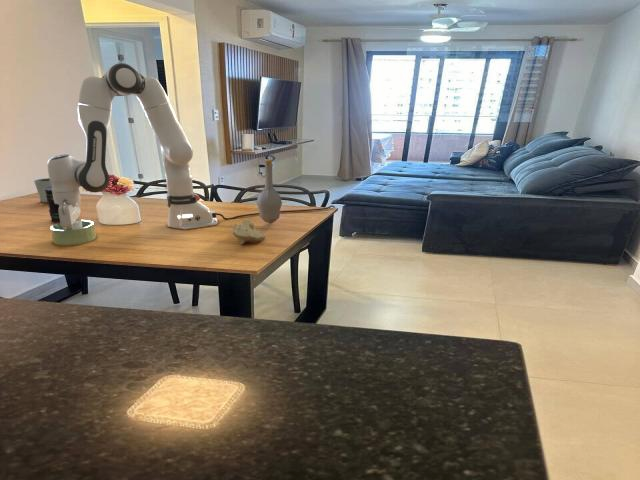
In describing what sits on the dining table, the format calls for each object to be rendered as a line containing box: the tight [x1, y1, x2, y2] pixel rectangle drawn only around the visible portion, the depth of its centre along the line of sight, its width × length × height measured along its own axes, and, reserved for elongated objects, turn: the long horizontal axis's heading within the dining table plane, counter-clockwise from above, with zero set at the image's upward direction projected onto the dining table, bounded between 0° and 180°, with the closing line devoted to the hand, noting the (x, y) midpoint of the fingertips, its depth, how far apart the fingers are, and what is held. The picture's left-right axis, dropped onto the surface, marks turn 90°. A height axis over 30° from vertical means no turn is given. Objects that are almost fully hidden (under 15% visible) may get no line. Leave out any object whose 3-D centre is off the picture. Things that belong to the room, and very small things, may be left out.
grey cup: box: [33, 177, 52, 204], centre depth 212 cm, size 10×10×12 cm
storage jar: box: [45, 187, 60, 223], centre depth 177 cm, size 10×10×15 cm
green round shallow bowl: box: [49, 219, 97, 247], centre depth 152 cm, size 15×15×6 cm
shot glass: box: [63, 219, 82, 230], centre depth 152 cm, size 7×7×7 cm
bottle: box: [256, 159, 283, 225], centre depth 176 cm, size 11×11×30 cm
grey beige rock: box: [231, 218, 267, 246], centre depth 153 cm, size 15×7×15 cm
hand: (73, 231), depth 152 cm, fingers open, 8 cm apart
